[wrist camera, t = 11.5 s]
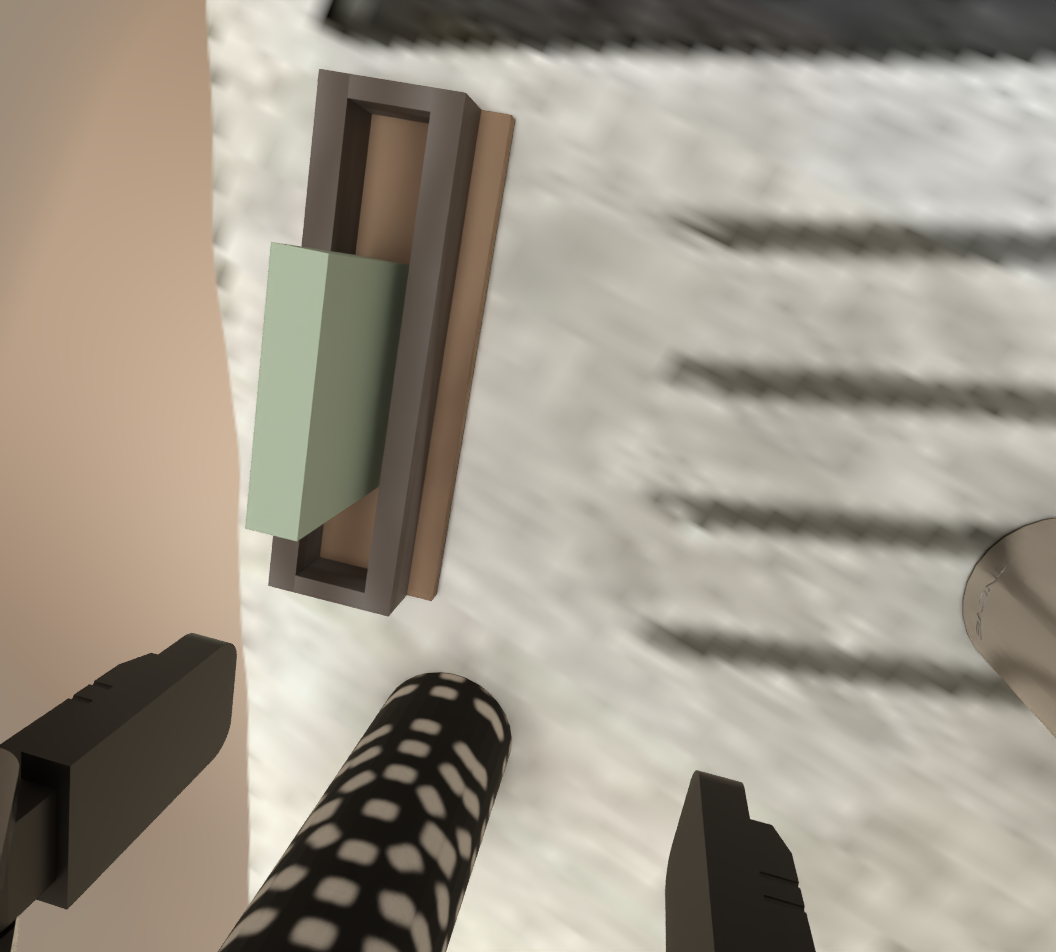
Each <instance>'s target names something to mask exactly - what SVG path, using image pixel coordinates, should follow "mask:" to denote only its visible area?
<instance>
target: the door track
mask: <svg viewBox="0 0 1056 952" xmlns="http://www.w3.org/2000/svg"><path fill="white" fill-rule="evenodd" d="M514 124H515V119H514V118H513V116H512V115H509V114H503V113H497V112H491V111H485V110H481V109H480V108H479V107H478V106H477V105H476V103H475V102H474V101H473V100H472V99H471V98H470V97H469V96H468V95H467V94H466V93H463V92H457V91H451V90H445V89H439V88H433V87H427V86H421V85H414V84H408V83H402V82H396V81H390V80H384V79H378V78H372V77H366V76H360V75H353V74H347V73H341V72H335V71H329V70H323V69H319V75H318V85H317V96H316V106H315V116H314V126H313V136H312V146H311V157H310V167H309V177H308V187H307V197H306V207H305V218H304V228H303V238H302V247H306V248H313V249H320V250H326V251H333V252H339V253H346V254H352V255H359V256H365V257H371V258H376V259H381V260H386V261H391V262H396V263H401V264H407V265H409V273H408V280H407V287H406V294H405V302H404V309H403V316H402V324H401V331H400V338H399V345H398V353H397V360H396V367H395V375H394V382H393V389H392V397H391V404H390V411H389V418H388V426H387V433H386V440H385V448H384V455H383V462H382V470H381V477H380V484H379V487H378V488H376V489H375V490H373V491H372V492H370V493H369V494H367V495H366V496H364V497H363V498H361V499H360V500H358V501H357V502H355V503H354V504H352V505H351V506H349V507H348V508H346V509H345V510H343V511H342V512H340V513H339V514H337V515H336V516H334V517H333V518H331V519H330V520H328V521H327V522H325V523H324V524H322V525H321V526H319V527H318V528H316V529H315V530H313V531H312V532H310V533H309V534H307V535H306V536H304V537H303V538H301V539H300V540H298V541H293V540H289V539H285V538H281V537H277V536H273V543H272V553H271V563H270V573H269V583H268V586H272V587H275V588H279V589H283V590H287V591H291V592H295V593H299V594H303V595H307V596H311V597H314V598H318V599H322V600H326V601H330V602H334V603H338V604H342V605H346V606H350V607H353V608H357V609H361V610H365V611H369V612H373V613H377V614H381V615H385V616H389V615H390V614H391V613H392V612H393V611H394V609H395V608H396V607H397V606H398V605H399V603H400V602H401V601H402V600H403V599H404V598H405V596H406V595H409V596H413V597H417V598H421V599H425V600H429V601H432V600H433V598H434V597H435V596H436V594H437V589H438V583H439V576H440V570H441V564H442V558H443V552H444V546H445V540H446V534H447V528H448V522H449V516H450V510H451V504H452V498H453V492H454V486H455V480H456V474H457V468H458V462H459V456H460V450H461V444H462V438H463V432H464V426H465V420H466V414H467V408H468V402H469V395H470V389H471V383H472V377H473V371H474V365H475V359H476V353H477V347H478V341H479V335H480V329H481V323H482V317H483V311H484V305H485V299H486V293H487V287H488V281H489V275H490V269H491V263H492V257H493V251H494V245H495V239H496V233H497V227H498V221H499V215H500V208H501V202H502V196H503V190H504V184H505V178H506V172H507V166H508V160H509V154H510V148H511V142H512V136H513V130H514Z"/></svg>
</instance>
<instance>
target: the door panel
mask: <svg viewBox="0 0 1056 952" xmlns="http://www.w3.org/2000/svg"><path fill="white" fill-rule="evenodd" d="M408 273H409V265H407V264H401V263H396V262H391V261H386V260H381V259H376V258H371V257H365V256H359V255H352V254H346V253H339V252H333V251H326V250H320V249H313V248H306V247H300V246H293V245H287V244H280V243H274V242H271V247H270V258H269V269H268V280H267V292H266V303H265V314H264V325H263V336H262V347H261V359H260V370H259V381H258V392H257V403H256V414H255V426H254V437H253V448H252V459H251V470H250V482H249V493H248V504H247V515H246V526H245V529H249V530H253V531H257V532H261V533H265V534H269V535H273V536H277V537H281V538H285V539H289V540H293V541H298V540H300V539H301V538H303V537H304V536H306V535H307V534H309V533H310V532H312V531H313V530H315V529H316V528H318V527H319V526H321V525H322V524H324V523H325V522H327V521H328V520H330V519H331V518H333V517H334V516H336V515H337V514H339V513H340V512H342V511H343V510H345V509H346V508H348V507H349V506H351V505H352V504H354V503H355V502H357V501H358V500H360V499H361V498H363V497H364V496H366V495H367V494H369V493H370V492H372V491H373V490H375V489H376V488H378V487H379V484H380V477H381V470H382V462H383V455H384V448H385V440H386V433H387V426H388V418H389V411H390V404H391V397H392V389H393V382H394V375H395V367H396V360H397V353H398V345H399V338H400V331H401V324H402V316H403V309H404V302H405V294H406V287H407V280H408Z"/></svg>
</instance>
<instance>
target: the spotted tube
mask: <svg viewBox="0 0 1056 952" xmlns="http://www.w3.org/2000/svg"><path fill="white" fill-rule="evenodd" d="M510 751H511V733H510V727H509V724H508V721H507V718H506V716H505V714H504V712H503V710H502V709H501V707H500V705H499V704H498V703H497V701H496V700H495V699H494V698H493V697H492V696H491V695H490V694H489V693H488V692H487V691H486V690H484V689H483V688H482V687H480V686H479V685H477V684H476V683H474V682H472V681H470V680H468V679H466V678H463V677H460V676H457V675H453V674H446V673H427V674H423V675H419V676H416V677H413V678H411V679H409V680H407V681H405V682H404V683H403V684H401V685H400V686H399V687H398V688H396V689H395V691H394V692H393V693H392V694H391V696H390V697H389V698H388V700H387V701H386V703H385V704H384V706H383V707H382V709H381V710H380V712H379V713H378V714H377V716H376V717H375V719H374V720H373V722H372V723H371V725H370V726H369V728H368V729H367V731H366V732H365V734H364V735H363V737H362V738H361V740H360V741H359V743H358V744H357V746H356V747H355V749H354V750H353V752H352V753H351V755H350V756H349V758H348V759H347V761H346V762H345V763H344V765H343V766H342V768H341V769H340V771H339V772H338V774H337V775H336V777H335V778H334V780H333V781H332V783H331V784H330V786H329V787H328V789H327V790H326V792H325V793H324V795H323V796H322V798H321V799H320V801H319V802H318V804H317V805H316V807H315V808H314V810H313V811H312V813H311V814H310V815H309V817H308V818H307V820H306V821H305V823H304V824H303V826H302V827H301V829H300V830H299V832H298V833H297V835H296V836H295V838H294V839H293V841H292V842H291V844H290V845H289V847H288V848H287V850H286V851H285V853H284V854H283V856H282V857H281V859H280V860H279V862H278V863H277V865H276V866H275V867H274V869H273V870H272V872H271V873H270V875H269V876H268V878H267V879H266V881H265V882H264V884H263V885H262V887H261V888H260V890H259V891H258V893H257V894H256V896H255V897H254V899H253V900H252V902H251V903H250V905H249V906H248V908H247V909H246V911H245V912H244V914H243V915H242V917H241V918H240V920H239V921H238V922H237V924H236V925H235V927H234V929H233V930H232V931H231V933H230V934H229V936H228V937H227V939H226V941H225V942H224V943H223V945H222V946H221V948H220V949H219V951H218V952H446V950H447V947H448V944H449V941H450V938H451V935H452V932H453V929H454V925H455V922H456V919H457V916H458V913H459V910H460V907H461V904H462V901H463V898H464V894H465V891H466V888H467V885H468V882H469V879H470V876H471V873H472V870H473V867H474V863H475V860H476V857H477V854H478V851H479V848H480V845H481V842H482V839H483V835H484V832H485V829H486V826H487V823H488V820H489V817H490V814H491V811H492V808H493V804H494V801H495V798H496V795H497V792H498V789H499V786H500V783H501V780H502V776H503V773H504V770H505V767H506V764H507V761H508V757H509V754H510Z"/></svg>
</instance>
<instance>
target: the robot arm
mask: <svg viewBox="0 0 1056 952" xmlns="http://www.w3.org/2000/svg"><path fill="white" fill-rule="evenodd" d="M963 618H964V622H965V626H966V630H967V634H968V636H969V637H970V639H971V641H972V643H973V645H974V647H975V648H976V650H977V651H978V652H979V653H980V654H981V655H982V656H983V658H984V659H985V660H986V661H987V662H988V663H989V664H990V665H991V666H992V668H993V669H994V670H995V671H996V672H997V673H998V674H999V675H1000V676H1001V678H1002V679H1003V680H1004V681H1005V682H1006V683H1007V684H1008V685H1009V686H1010V688H1011V689H1012V690H1013V691H1014V692H1015V694H1016V695H1017V696H1018V697H1019V698H1020V699H1021V700H1022V701H1023V702H1024V704H1025V705H1026V706H1027V707H1028V708H1029V709H1030V710H1031V711H1032V712H1033V713H1034V714H1035V716H1036V717H1037V718H1038V719H1039V720H1040V721H1041V722H1042V723H1043V724H1044V725H1045V727H1046V728H1047V729H1048V730H1049V731H1050V732H1051V733H1052V734H1053V735H1054V736H1055V737H1056V518H1054V519H1048V520H1043V521H1040V522H1037V523H1034V524H1031V525H1028V526H1025V527H1022V528H1021V529H1019V530H1017V531H1015V532H1013V533H1011V534H1010V535H1008V536H1006V537H1004V538H1003V539H1002V540H1001V541H999V542H998V543H997V544H996V545H995V546H993V547H992V548H991V549H990V550H989V551H988V552H987V553H986V554H985V555H984V557H983V558H982V559H981V560H980V562H979V563H978V564H977V565H976V567H975V569H974V571H973V573H972V575H971V577H970V579H969V581H968V583H967V587H966V591H965V595H964V599H963ZM236 657H237V654H236V648H235V646H234V645H233V644H231V643H228V642H224V641H220V640H217V639H213V638H209V637H205V636H202V635H198V634H194V633H190V634H187V635H185V636H184V637H182V638H181V639H179V640H178V641H177V642H175V643H174V644H172V645H171V646H170V647H168V648H167V649H165V650H164V651H163V652H161V653H160V654H158V655H157V654H153V653H150V654H147V655H144V656H141V657H138V658H136V659H133V660H130V661H127V662H125V663H122V664H119V665H117V666H116V667H115V668H113V669H112V670H110V671H108V672H107V673H106V674H104V675H103V676H101V677H100V678H98V679H97V680H95V681H94V684H93V685H88V686H86V687H85V688H83V689H82V690H80V691H79V692H77V693H76V694H74V696H73V698H72V699H67V700H65V701H64V702H62V703H61V704H59V705H58V706H56V707H55V708H54V709H52V710H51V711H49V712H48V713H46V714H45V715H43V716H42V717H40V718H39V719H37V720H36V721H34V722H33V723H31V724H30V725H28V726H27V727H25V728H24V729H22V730H21V731H19V732H18V733H16V734H15V735H13V736H12V737H11V738H9V739H8V740H6V741H5V742H3V743H2V744H0V952H16V947H17V941H18V935H19V915H20V914H21V913H22V912H23V911H24V910H25V909H26V908H27V907H29V906H30V905H31V904H32V903H33V902H34V901H35V900H39V901H43V902H46V903H49V904H52V905H55V906H58V907H61V908H64V909H68V908H69V907H70V906H71V905H72V904H73V903H74V902H75V901H76V900H77V899H78V898H79V897H80V896H81V895H82V894H83V893H84V892H85V891H86V890H87V889H88V888H89V887H90V886H91V884H93V883H94V881H96V879H97V878H98V877H99V876H100V875H101V874H102V873H103V872H104V871H105V870H106V869H107V868H108V867H109V866H110V865H111V864H112V863H113V862H114V861H115V860H116V859H117V858H118V857H119V856H120V855H121V854H122V853H123V852H124V850H126V849H127V848H128V846H129V845H130V844H131V843H132V842H133V841H134V840H135V839H136V838H137V837H138V836H139V835H140V834H141V833H142V832H143V831H144V830H145V829H146V828H147V827H148V826H149V825H150V824H151V823H152V822H153V821H154V820H155V819H156V818H157V817H158V816H159V815H160V814H161V812H162V811H163V810H164V809H165V808H166V807H167V806H168V805H169V804H170V803H171V802H172V801H173V800H174V799H175V798H176V797H177V796H178V795H179V794H180V793H181V792H182V791H183V790H184V789H185V788H186V787H187V786H188V785H189V784H190V783H191V782H192V780H193V779H194V778H196V777H197V775H198V774H199V773H200V772H201V771H202V770H203V769H204V768H205V767H206V766H207V765H208V764H209V763H210V762H211V761H212V760H213V759H214V758H215V757H216V755H217V754H218V753H219V751H220V749H221V748H222V746H223V744H224V742H225V739H226V737H227V734H228V731H229V728H230V724H231V716H232V704H233V693H234V681H235V670H236V659H237V658H236ZM798 884H799V881H798V877H797V873H796V869H795V865H794V861H793V856H792V853H791V852H790V850H789V849H788V847H787V846H786V844H785V843H784V842H783V840H782V839H781V837H780V836H779V834H778V833H777V831H776V830H775V829H774V827H773V826H772V825H770V824H766V823H762V822H759V821H755V820H751V819H750V816H749V811H748V805H747V800H746V794H745V789H744V785H743V783H742V782H738V781H735V780H731V779H727V778H724V777H720V776H716V775H712V774H709V773H705V772H701V771H698V770H696V771H695V772H694V774H693V776H692V778H691V781H690V785H689V788H688V792H687V795H686V799H685V802H684V806H683V809H682V813H681V816H680V819H679V823H678V826H677V830H676V833H675V837H674V840H673V844H672V847H671V851H670V856H669V861H668V867H667V875H666V886H665V910H666V952H816V951H815V947H814V943H813V939H812V935H811V930H810V926H809V922H808V918H807V914H806V913H805V912H804V907H805V906H804V902H803V898H802V893H801V889H800V888H798Z"/></svg>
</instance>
